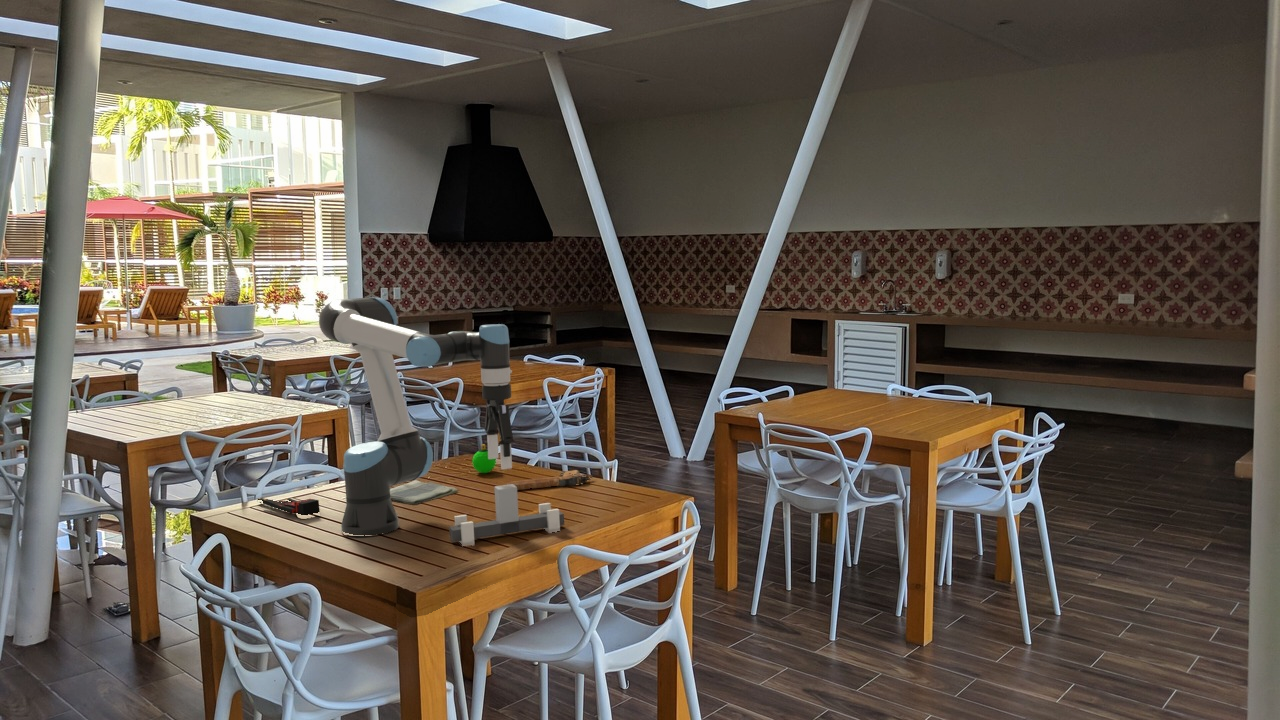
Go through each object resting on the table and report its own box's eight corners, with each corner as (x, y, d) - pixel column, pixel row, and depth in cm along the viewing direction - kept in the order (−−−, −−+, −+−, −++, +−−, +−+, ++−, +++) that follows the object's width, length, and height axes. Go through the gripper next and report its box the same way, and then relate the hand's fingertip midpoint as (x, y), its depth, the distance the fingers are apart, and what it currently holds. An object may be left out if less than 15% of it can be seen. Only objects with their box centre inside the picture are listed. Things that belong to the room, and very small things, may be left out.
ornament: (500, 470, 324) (499, 442, 323) (490, 476, 316) (488, 447, 315) (479, 470, 326) (478, 442, 325) (468, 475, 319) (467, 446, 318)
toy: (252, 511, 288) (300, 521, 268) (251, 495, 288) (298, 504, 268) (278, 505, 294) (327, 515, 274) (277, 490, 294) (325, 498, 274)
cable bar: (453, 542, 238) (450, 496, 237) (449, 538, 242) (447, 492, 240) (564, 524, 250) (562, 481, 249) (559, 521, 253) (557, 478, 252)
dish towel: (413, 507, 281) (413, 496, 281) (376, 499, 292) (376, 489, 291) (460, 493, 296) (459, 483, 295) (423, 487, 307) (422, 477, 306)
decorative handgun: (502, 476, 307) (507, 484, 292) (586, 467, 313) (595, 474, 299) (503, 485, 307) (508, 494, 292) (587, 476, 313) (595, 484, 299)
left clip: (462, 546, 237) (461, 523, 236) (455, 538, 245) (454, 516, 244) (474, 545, 238) (473, 522, 237) (467, 536, 246) (465, 514, 245)
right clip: (549, 533, 246) (548, 511, 245) (539, 525, 254) (538, 504, 253) (560, 531, 247) (559, 509, 246) (550, 524, 255) (549, 502, 254)
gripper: (523, 388, 233) (526, 471, 235) (498, 377, 256) (501, 453, 258) (494, 390, 230) (497, 474, 233) (471, 379, 253) (474, 456, 255)
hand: (499, 463), depth 245 cm, fingers open, 13 cm apart
